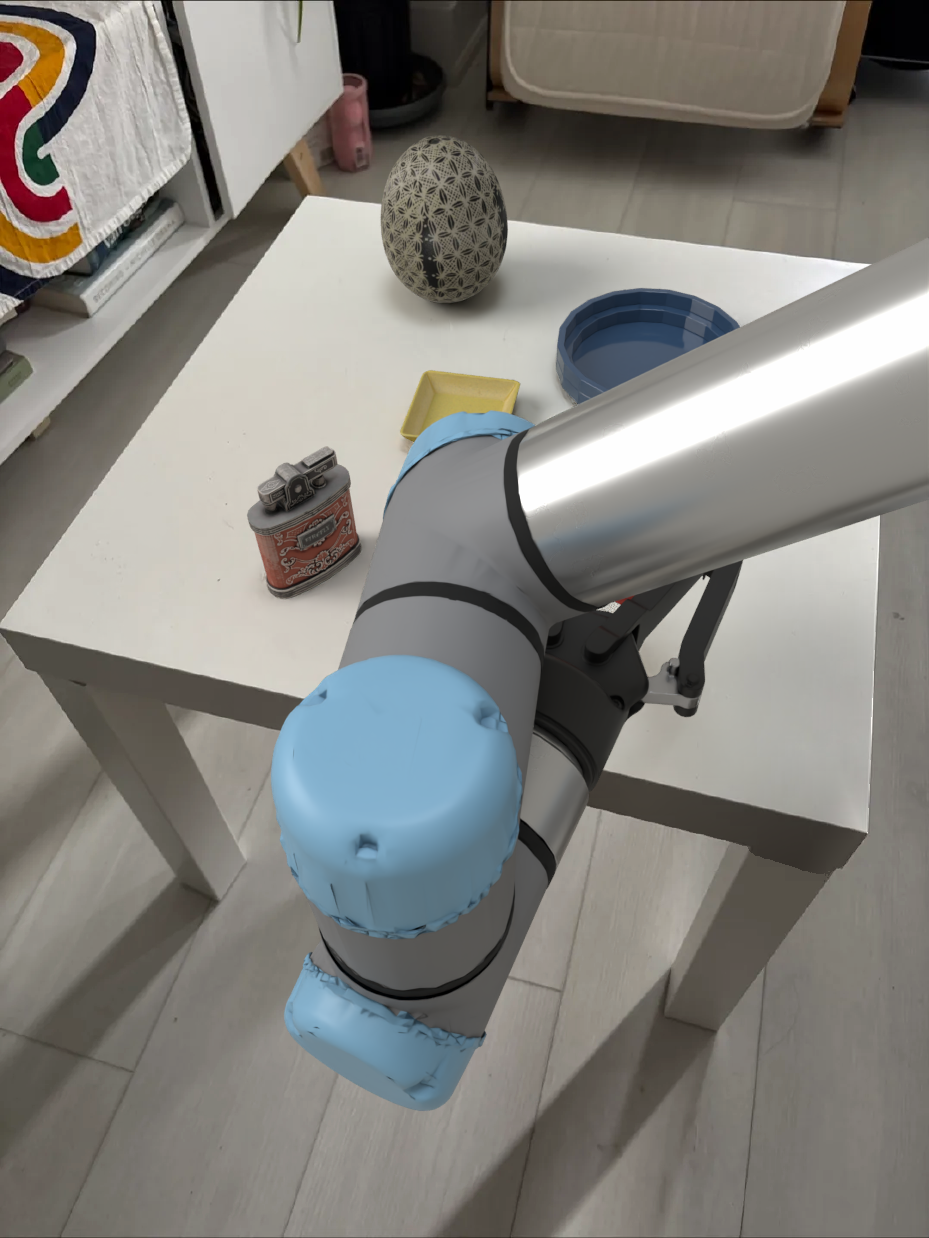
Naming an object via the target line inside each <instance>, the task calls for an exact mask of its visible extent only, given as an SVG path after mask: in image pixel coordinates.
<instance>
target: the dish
mask: <svg viewBox="0 0 929 1238" xmlns="http://www.w3.org/2000/svg"><path fill="white" fill-rule="evenodd" d="M740 327H741V326H740V324H739V322H738V321H737V320H736V319H735V318H733V317H732V316H731V315H730V314H728V313H727V311H725V310H724V309H722V308H721V307H720V306H718V305H716V304H714V303H712V302H709V301H707V300H705V299H703V298H701V297H699V296H697V295H693V294H689V293H686V292H681V291H677V290H674V289H666V288H651V287H648V288H647V287H635V288H628V289H620V290H613V291H610V292H607V293H604V294H601V295H597V296H595V297H592V298H589V299H587V300H586V301H585V302H583V303H581V304H580V305H579V306H577V307H576V308H574V309H572V310H571V311H570V312H569V313H568V315H567V316H566V317H565V319H564V321H563V322H562V324H561V325H560V326H559V329H558V335H557V343H556V357H555V358H556V359H555V372H556V375H557V377H558V380H559V382H560V385H561V387H562V389H563V390H564V391H565V393H566V394H567V395H569V396H570V398H571V399H573V401H574V402H575V403H576V405H579V404H581V403H583V402H585V401H587V400H589V399H591V398H593V397H595V396H597V395H600V394H602V393H604V392H606V391H608V390H610V389H612V388H614V387H616V386H618V385H620V384H622V383H625V382H627V381H629V380H631V379H633V378H635V377H637V376H639V375H641V374H643V373H645V372H648V371H650V370H652V369H654V368H656V367H658V366H660V365H662V364H664V363H666V362H668V361H671V360H673V359H675V358H677V357H679V356H681V355H683V354H685V353H687V352H689V351H691V350H694V349H696V348H698V347H700V346H702V345H704V344H706V343H708V342H710V341H712V340H714V339H717V338H719V337H721V336H723V335H725V334H727V333H729V332H731V331H733V330H735V329H737V328H740Z"/></svg>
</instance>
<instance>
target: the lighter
mask: <svg viewBox="0 0 929 1238" xmlns="http://www.w3.org/2000/svg"><path fill="white" fill-rule="evenodd" d="M351 484H352V481H351V475H350V472H349V470H348V469H347V468H346V467H345V466H343V465H342V464H340V463H339V464H338V458H337V452H336V451H335V450H334V449H333V448H332V447H330V446H323V447H321V448H320V449H317V450H316V451H314V452H312V453H311V454H308V455H307V456H306V457H303V458H302V459H300V461H297V462H296V463H294V464H292V463H290V462H283V463H282V464H280V465H278V466H277V468H275V471H274V473H273V475H272V476H271V477H269V478H268V479H266V480H264V481H262V482H261V483H259V484H257V486H256V492H257V494H258V498H259V500H258V501H256V503H254V504H253V505H251V507H250V508H249V509H248V510H247V514H246V517H247V518H246V519H247V521H248V525H249V527H250V530H251V531H252V532H253V533H254V536H255V541H256V543H257V546H258V550H259V554H260V557H261V560H262V564H263V567H264V571H265V578H264V579H265V583H266V586H267V591H268V592H269V593H270V595H272V596H273V597H275V598H278V599H284V600H285V599H290V598H293V597H295V596H298V595H300V594H301V593H304V592H307V591H309V590H311V589H313V588H314V587H316V586H318V585H320V584H321V583H324V582H325V581H327V580H329V579H330V578H332V577H333V576H334V575H336V574H337V573H338V572H340V571H341V570H343V569H344V568H346V567H347V565H349V564H350V563H351V562H352V561H353V560H355V558H357V557H358V556H359V555H360V553H361V552H362V548H363V547H362V542H361V536H360V535H359V532H357V526H356V520H355V515H354V508H353V501H352V497H351V492H350V491H351V490H350V488H351Z"/></svg>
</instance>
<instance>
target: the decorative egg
mask: <svg viewBox="0 0 929 1238" xmlns="http://www.w3.org/2000/svg"><path fill="white" fill-rule="evenodd" d="M506 206H507V205H506V202H505V197H504V194H503V190H502V187H501V185H500V182H499V180H498V178H497V175H496V174H495V171H494V170H493V168H492V166H491V165H490V163H489V162H488V160H486V158H485V157H484V155H482V154H481V152H479V151H478V150H477V149H476V148H475V147H474V146H472V145H471V144H469V143H467V141H465V140H462V139H460V138H458V137H454V136H451V135H445V134H439V135H438V134H437V135H429V136H426V137H423V138H421V139H419V140H417V141H416V142H414V143H413V144H412V145H410V146H409V147H408V148H407V149H406V150H405V151H404V152H402V154H401V155H400V157H399V158H398V159H397V161H396V162H395V163H394V165H393V167H392V169H391V171H390V172H389V174H388V177H387V179H386V182H385V185H384V189H383V194H382V199H381V206H380V234H381V240H382V246H383V250H384V253H385V257H386V259H387V261H388V264H389V266H390V268H391V270H392V272H393V273H394V274H395V276H396V278H397V279H398V280H399V281H400V282H401V284H402V285H403V286H404V287H405V288H406V289H407V290H409V291H410V292H411V293H413V294H414V295H416V296H418V297H419V298H422V299H424V300H426V301H430V302H432V303H433V302H434V303H437V304H438V303H440V304H453V303H458V302H462V301H464V300H465V301H466V300H468V299H470V298H472V297H474V296H475V295H477V294H478V293H480V292H481V291H483V289H485V288H486V287H487V286H488V285H489V283H490V282H491V281H492V280H493V279H494V277H495V276H496V274H497V273H498V271H499V269H500V267H501V266H502V263H503V260H504V256H505V254H506V249H507V246H508V245H507V243H508V236H509V235H508V234H509V225H508V212H507V207H506Z"/></svg>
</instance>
